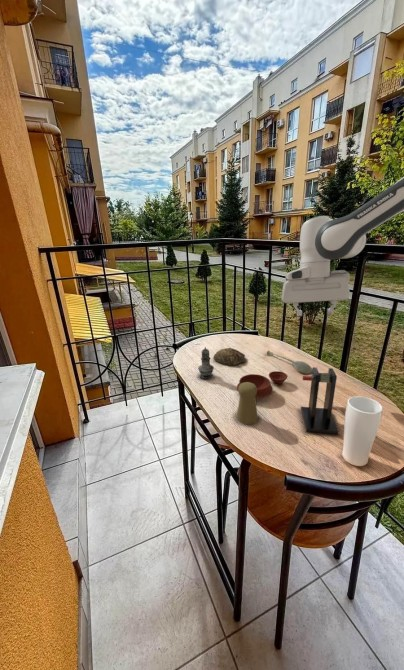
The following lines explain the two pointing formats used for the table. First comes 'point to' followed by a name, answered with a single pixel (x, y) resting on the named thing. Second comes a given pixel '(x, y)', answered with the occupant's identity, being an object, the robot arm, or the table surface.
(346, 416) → the drinking glass
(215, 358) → the brown rounded lump
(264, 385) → the pottery
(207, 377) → the grey tall knobbed piece
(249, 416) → the olive pawn figure
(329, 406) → the bracket
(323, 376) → the lever
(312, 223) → the robot arm
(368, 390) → the table surface
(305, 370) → the soupspoon
